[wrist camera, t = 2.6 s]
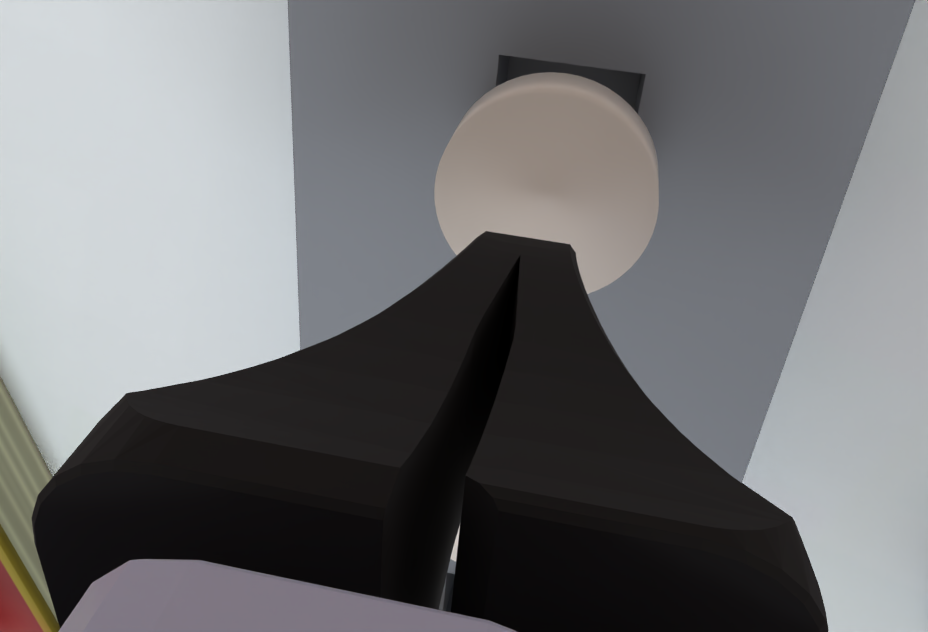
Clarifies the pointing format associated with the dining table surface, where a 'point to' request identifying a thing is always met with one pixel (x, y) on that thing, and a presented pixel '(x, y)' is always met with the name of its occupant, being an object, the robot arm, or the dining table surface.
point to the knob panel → (678, 154)
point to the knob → (553, 172)
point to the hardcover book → (21, 527)
